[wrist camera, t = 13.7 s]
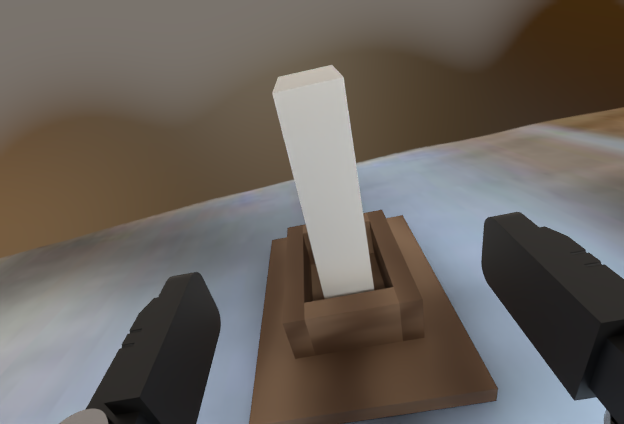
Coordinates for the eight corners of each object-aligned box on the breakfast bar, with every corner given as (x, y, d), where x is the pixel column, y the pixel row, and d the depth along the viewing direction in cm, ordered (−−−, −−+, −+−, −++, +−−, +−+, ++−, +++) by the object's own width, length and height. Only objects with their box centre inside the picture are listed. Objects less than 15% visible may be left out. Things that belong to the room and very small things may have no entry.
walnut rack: (254, 436, 16) (228, 390, 14) (274, 248, 30) (263, 212, 28) (496, 400, 16) (503, 347, 14) (403, 224, 29) (400, 185, 28)
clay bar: (330, 322, 20) (272, 93, 14) (324, 270, 25) (278, 77, 18) (377, 313, 20) (343, 77, 13) (363, 263, 25) (332, 64, 18)
